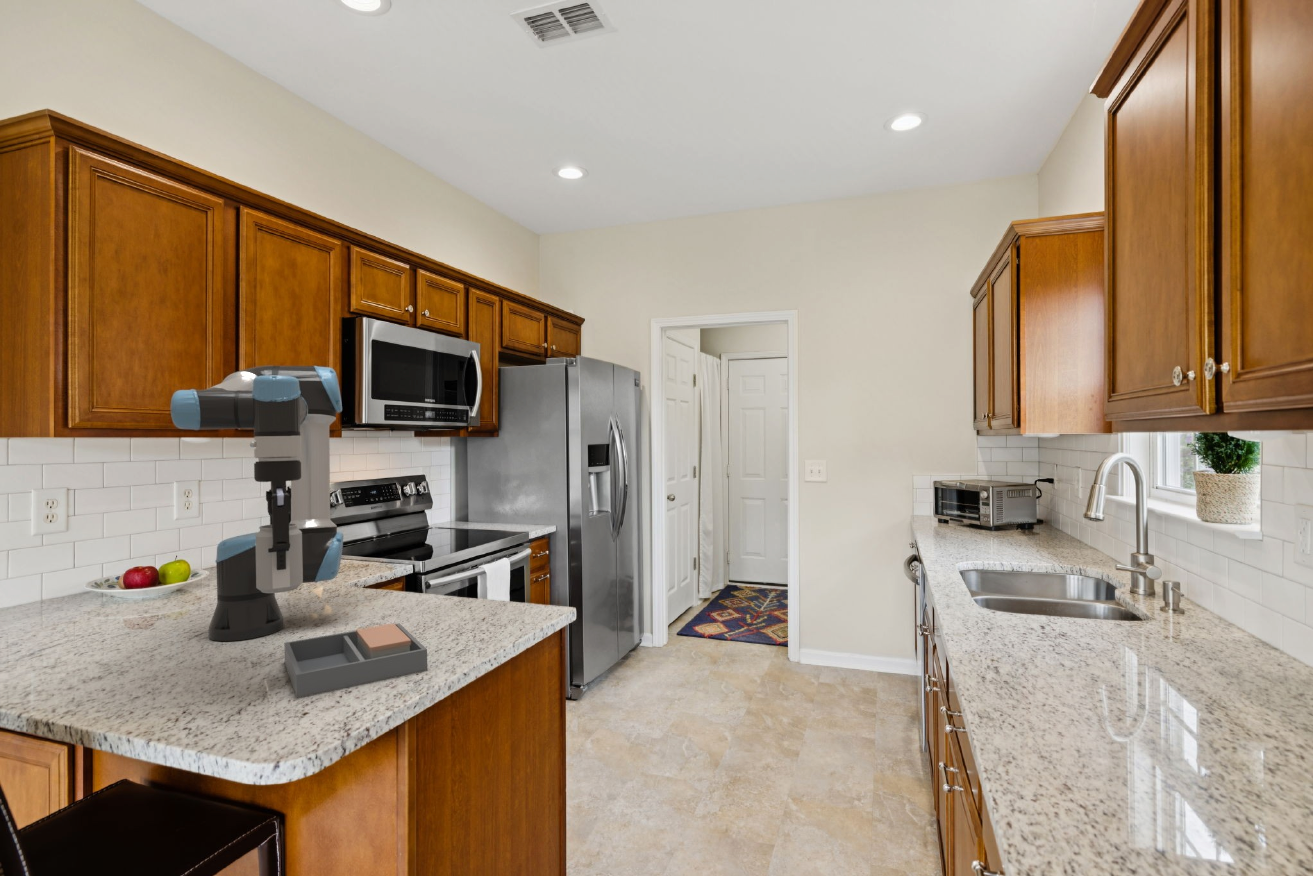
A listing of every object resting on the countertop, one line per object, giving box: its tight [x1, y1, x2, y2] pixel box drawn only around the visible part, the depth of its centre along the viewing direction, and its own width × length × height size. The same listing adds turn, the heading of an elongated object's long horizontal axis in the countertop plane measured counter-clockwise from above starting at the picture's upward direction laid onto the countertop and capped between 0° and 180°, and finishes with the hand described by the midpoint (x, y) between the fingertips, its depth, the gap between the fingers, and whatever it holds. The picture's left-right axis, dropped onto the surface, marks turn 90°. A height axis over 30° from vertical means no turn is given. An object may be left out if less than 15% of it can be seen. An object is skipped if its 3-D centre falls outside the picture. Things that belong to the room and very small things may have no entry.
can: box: [255, 522, 304, 594], centre depth 120 cm, size 8×8×12 cm
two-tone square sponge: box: [355, 623, 411, 660], centre depth 130 cm, size 14×7×5 cm, turn 35°
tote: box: [283, 623, 428, 699], centre depth 127 cm, size 22×22×5 cm
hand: (280, 583), depth 120 cm, fingers closed on can, 7 cm apart
